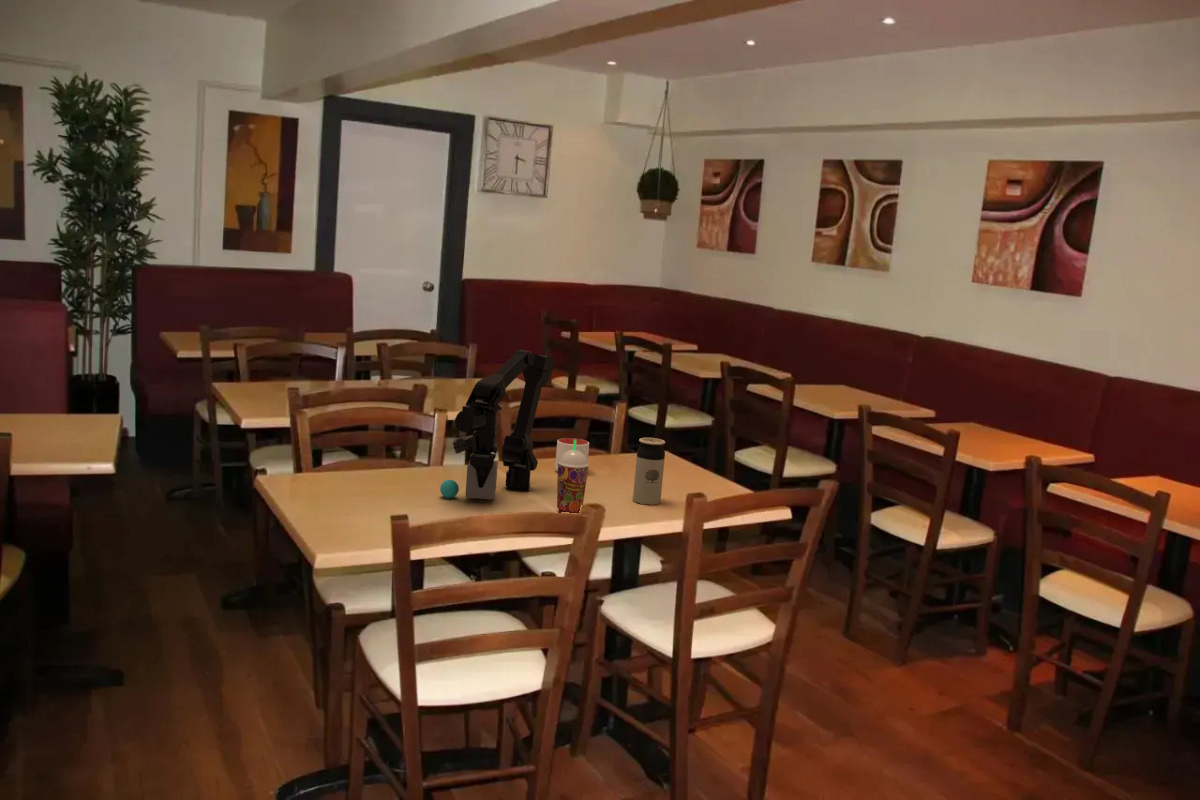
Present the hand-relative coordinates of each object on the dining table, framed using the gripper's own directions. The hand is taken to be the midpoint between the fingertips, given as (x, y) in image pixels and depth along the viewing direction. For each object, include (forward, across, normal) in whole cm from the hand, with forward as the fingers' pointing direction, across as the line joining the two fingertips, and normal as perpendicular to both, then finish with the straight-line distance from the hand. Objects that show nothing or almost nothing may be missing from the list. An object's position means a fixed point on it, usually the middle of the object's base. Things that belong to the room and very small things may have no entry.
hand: (481, 483), depth 277 cm
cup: (+5, -41, +25) cm, 48 cm away
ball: (+2, 0, -9) cm, 9 cm away
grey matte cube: (+3, 0, 0) cm, 3 cm away
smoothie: (+5, +6, +24) cm, 25 cm away
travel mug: (+5, -11, +46) cm, 48 cm away
